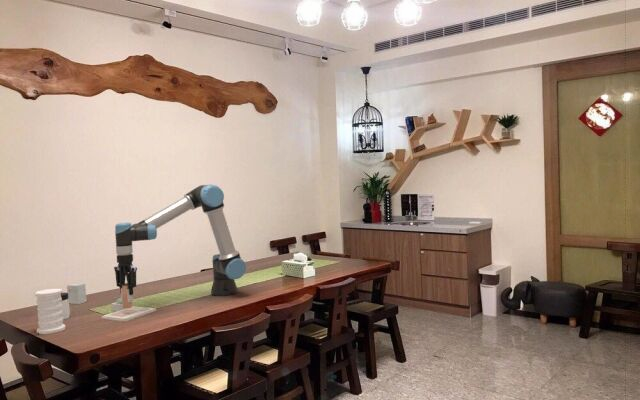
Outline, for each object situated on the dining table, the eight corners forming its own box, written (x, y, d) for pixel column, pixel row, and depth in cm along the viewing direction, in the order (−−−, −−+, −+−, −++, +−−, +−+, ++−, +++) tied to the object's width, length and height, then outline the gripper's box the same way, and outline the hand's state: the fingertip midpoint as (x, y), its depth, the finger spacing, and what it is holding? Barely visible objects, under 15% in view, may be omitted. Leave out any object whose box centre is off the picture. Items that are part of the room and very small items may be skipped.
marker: (133, 306, 251) (132, 282, 251) (127, 308, 248) (125, 284, 247) (127, 306, 253) (126, 282, 253) (121, 308, 250) (120, 284, 249)
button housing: (132, 307, 266) (132, 301, 266) (121, 311, 260) (121, 304, 260) (122, 306, 270) (122, 300, 270) (111, 310, 263) (110, 303, 263)
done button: (127, 305, 266) (127, 298, 266) (121, 307, 262) (121, 300, 262) (122, 305, 268) (121, 297, 267) (115, 307, 264) (115, 299, 264)
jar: (66, 314, 258) (64, 291, 257) (73, 317, 252) (72, 293, 252) (47, 319, 251) (46, 295, 250) (54, 321, 246) (53, 297, 245)
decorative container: (30, 333, 227) (28, 293, 227) (52, 325, 238) (50, 287, 237) (49, 334, 223) (47, 294, 222) (71, 327, 234) (68, 288, 233)
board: (156, 310, 258) (156, 308, 258) (125, 321, 240) (125, 318, 240) (133, 308, 265) (133, 306, 265) (101, 318, 247) (101, 316, 247)
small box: (86, 301, 286) (85, 283, 285) (79, 304, 280) (77, 285, 280) (75, 301, 288) (74, 283, 288) (67, 303, 283) (66, 285, 282)
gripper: (142, 253, 249) (145, 300, 250) (118, 252, 257) (121, 298, 258) (130, 255, 243) (133, 304, 243) (106, 254, 250) (109, 301, 251)
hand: (127, 300), depth 250 cm, fingers closed on marker, 3 cm apart
